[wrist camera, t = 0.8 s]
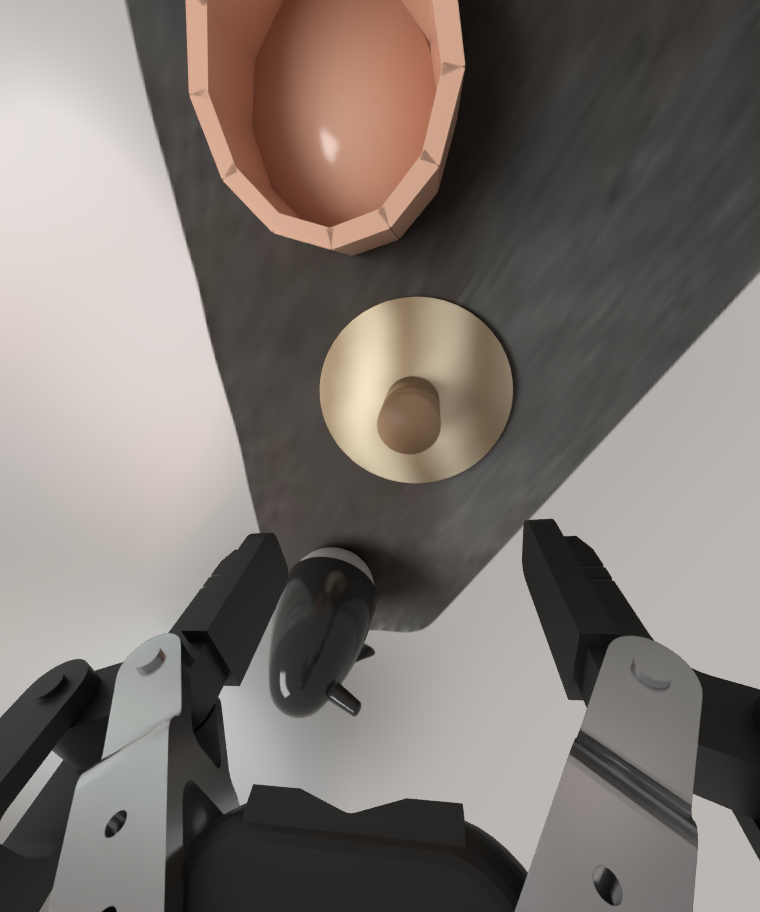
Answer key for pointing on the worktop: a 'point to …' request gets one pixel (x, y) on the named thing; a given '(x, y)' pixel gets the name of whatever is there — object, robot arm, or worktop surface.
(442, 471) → the lid
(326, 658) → the pump dispenser
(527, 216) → the worktop surface
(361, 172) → the bowl
